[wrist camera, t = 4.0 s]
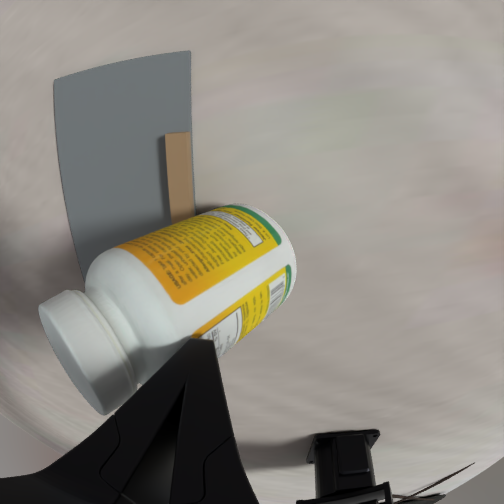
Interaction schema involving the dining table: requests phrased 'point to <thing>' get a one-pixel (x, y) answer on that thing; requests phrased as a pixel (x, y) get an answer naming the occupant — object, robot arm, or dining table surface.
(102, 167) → the grey flat board
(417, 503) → the sushi plate
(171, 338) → the supplement bottle
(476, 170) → the dining table surface
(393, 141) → the dining table surface
